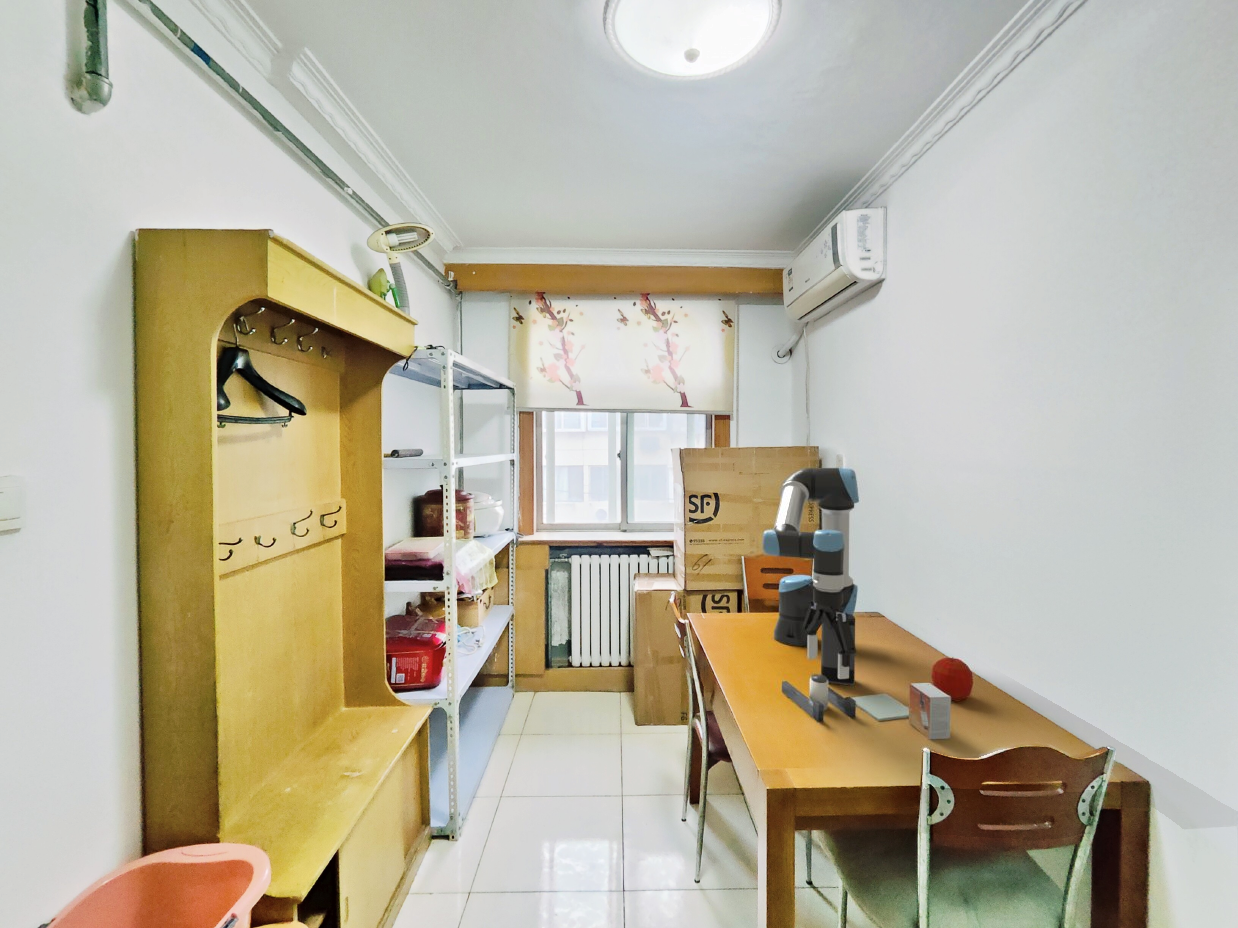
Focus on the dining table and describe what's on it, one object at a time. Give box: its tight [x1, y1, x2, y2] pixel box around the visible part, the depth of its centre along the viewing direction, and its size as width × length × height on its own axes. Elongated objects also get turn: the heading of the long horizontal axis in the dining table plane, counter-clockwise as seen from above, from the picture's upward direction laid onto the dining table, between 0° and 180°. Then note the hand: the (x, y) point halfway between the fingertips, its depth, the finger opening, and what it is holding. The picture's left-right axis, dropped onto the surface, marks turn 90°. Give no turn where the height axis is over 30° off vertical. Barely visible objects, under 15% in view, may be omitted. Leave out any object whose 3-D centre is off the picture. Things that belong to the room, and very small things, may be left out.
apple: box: [931, 657, 974, 702], centre depth 152 cm, size 10×10×12 cm
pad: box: [851, 693, 909, 722], centre depth 146 cm, size 12×12×1 cm
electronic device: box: [820, 614, 856, 686], centre depth 163 cm, size 9×6×20 cm, turn 71°
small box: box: [908, 682, 952, 740], centre depth 134 cm, size 8×6×10 cm
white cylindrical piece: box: [808, 673, 829, 711], centre depth 147 cm, size 5×5×8 cm
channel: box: [781, 680, 857, 723], centre depth 148 cm, size 18×11×4 cm, turn 13°
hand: (827, 667), depth 143 cm, fingers open, 13 cm apart
